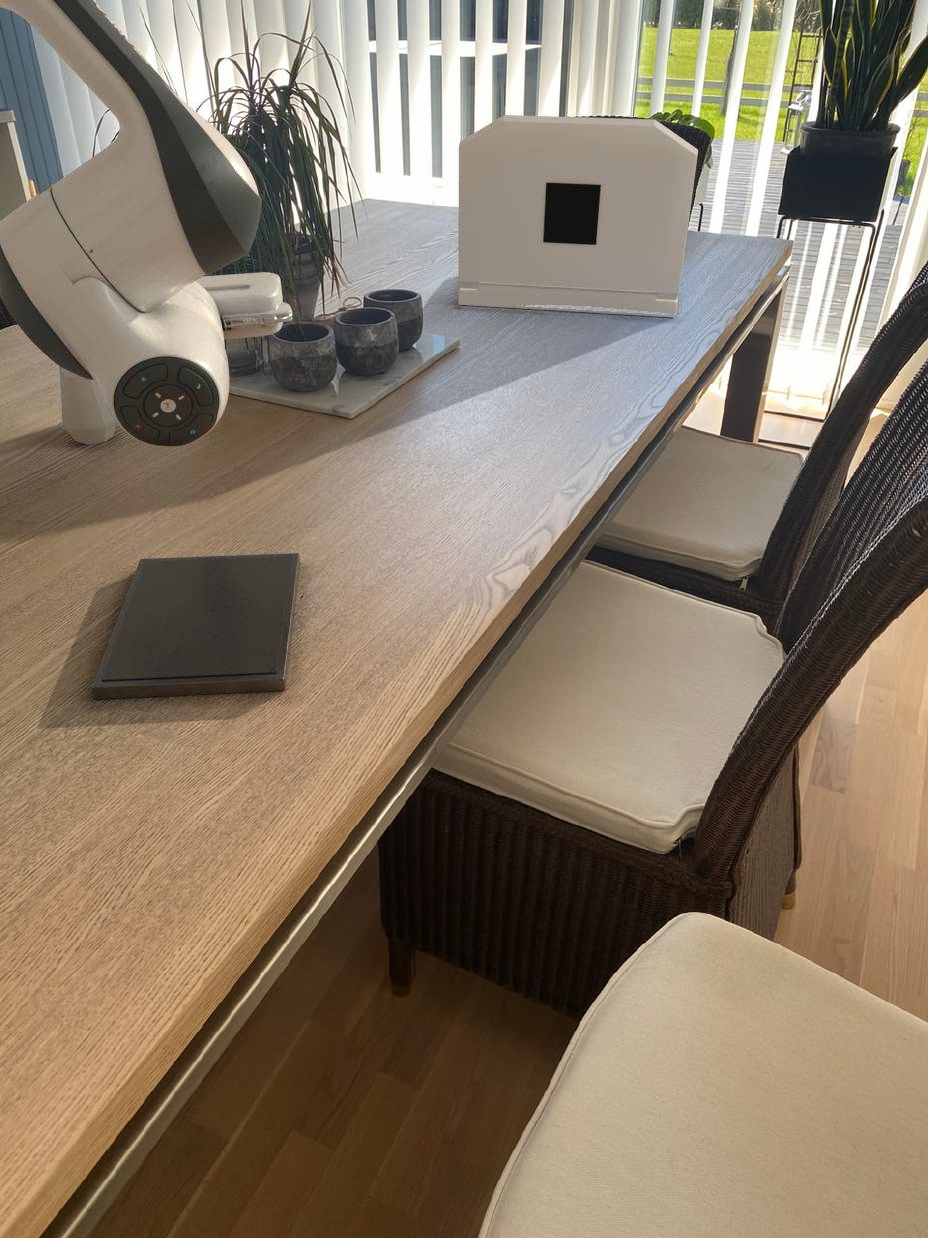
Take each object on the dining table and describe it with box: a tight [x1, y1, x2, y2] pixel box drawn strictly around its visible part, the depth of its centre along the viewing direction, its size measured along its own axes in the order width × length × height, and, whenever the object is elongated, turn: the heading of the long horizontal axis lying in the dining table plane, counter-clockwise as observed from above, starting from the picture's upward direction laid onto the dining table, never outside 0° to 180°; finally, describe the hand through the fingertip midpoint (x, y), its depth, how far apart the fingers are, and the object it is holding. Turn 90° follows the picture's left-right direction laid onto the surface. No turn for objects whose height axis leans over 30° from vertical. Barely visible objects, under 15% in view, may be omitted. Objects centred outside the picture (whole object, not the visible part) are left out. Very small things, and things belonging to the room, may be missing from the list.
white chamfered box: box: [458, 114, 699, 318], centre depth 147 cm, size 33×24×26 cm
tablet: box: [91, 552, 301, 700], centre depth 77 cm, size 14×18×1 cm
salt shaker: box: [58, 365, 117, 446], centre depth 104 cm, size 6×6×13 cm
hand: (165, 283), depth 87 cm, fingers closed on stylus, 3 cm apart
